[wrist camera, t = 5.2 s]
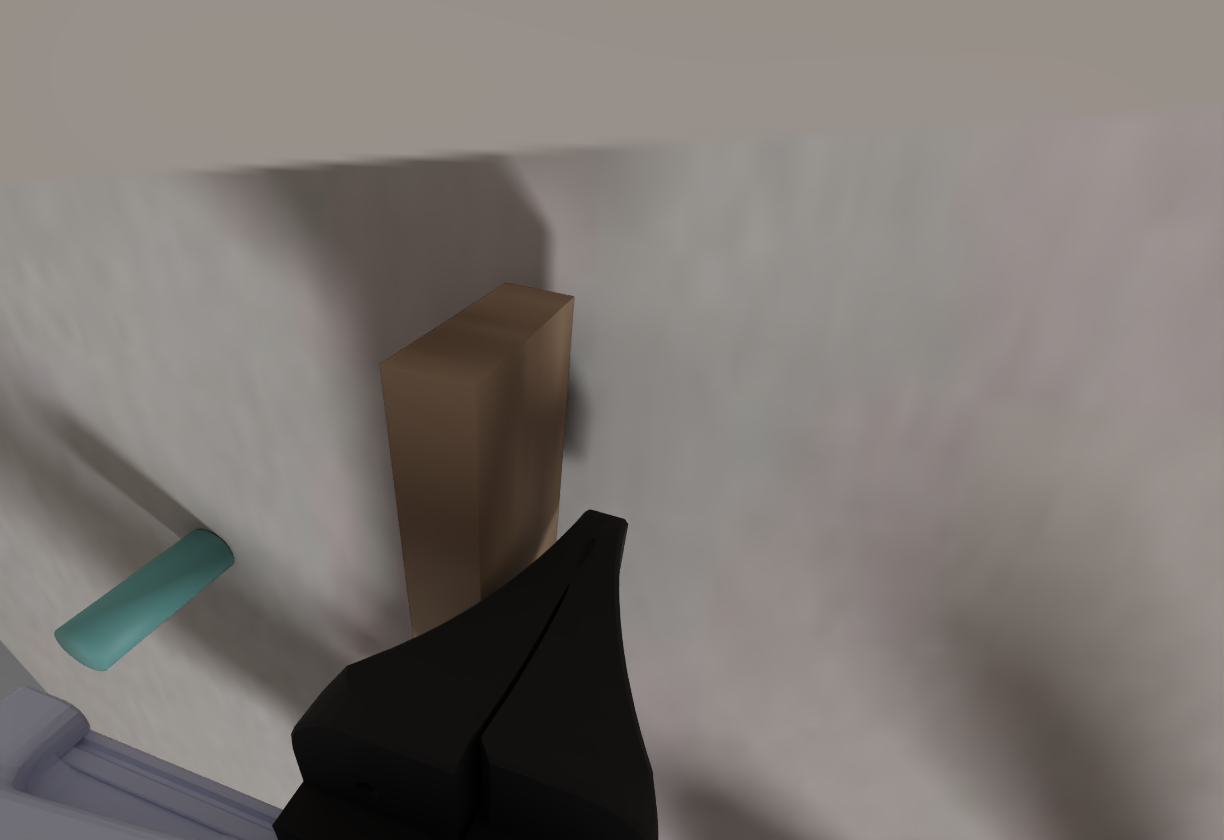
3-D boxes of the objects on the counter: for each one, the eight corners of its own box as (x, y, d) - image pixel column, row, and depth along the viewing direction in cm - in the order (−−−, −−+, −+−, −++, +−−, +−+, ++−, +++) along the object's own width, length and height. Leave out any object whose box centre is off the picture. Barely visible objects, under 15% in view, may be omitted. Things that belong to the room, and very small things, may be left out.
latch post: (230, 575, 23) (108, 679, 19) (188, 549, 23) (56, 648, 19) (236, 548, 22) (107, 652, 18) (192, 521, 22) (52, 619, 18)
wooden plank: (549, 783, 23) (488, 956, 18) (495, 764, 23) (422, 927, 19) (594, 297, 12) (474, 418, 8) (492, 277, 13) (319, 380, 8)
